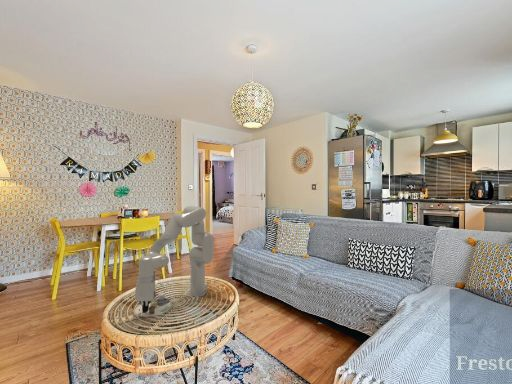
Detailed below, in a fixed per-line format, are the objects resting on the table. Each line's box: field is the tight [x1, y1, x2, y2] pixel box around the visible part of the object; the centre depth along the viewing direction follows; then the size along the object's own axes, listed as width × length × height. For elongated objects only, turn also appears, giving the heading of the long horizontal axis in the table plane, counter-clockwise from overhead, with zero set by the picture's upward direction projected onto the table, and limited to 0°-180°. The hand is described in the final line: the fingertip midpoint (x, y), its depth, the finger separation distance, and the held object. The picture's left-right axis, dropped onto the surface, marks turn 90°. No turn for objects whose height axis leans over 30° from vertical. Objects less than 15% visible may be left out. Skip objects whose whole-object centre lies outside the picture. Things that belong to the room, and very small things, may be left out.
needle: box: [149, 298, 158, 314], centre depth 140 cm, size 12×4×4 cm, turn 16°
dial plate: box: [134, 297, 173, 318], centre depth 144 cm, size 20×20×3 cm
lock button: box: [157, 292, 166, 302], centre depth 150 cm, size 4×4×4 cm
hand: (145, 311), depth 136 cm, fingers closed
